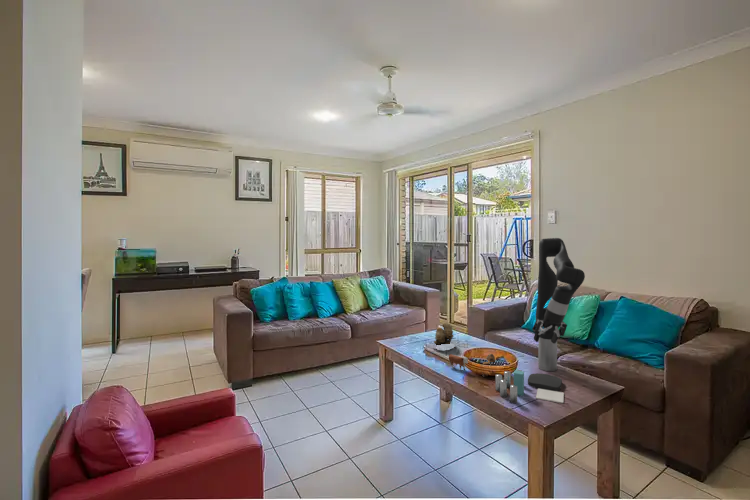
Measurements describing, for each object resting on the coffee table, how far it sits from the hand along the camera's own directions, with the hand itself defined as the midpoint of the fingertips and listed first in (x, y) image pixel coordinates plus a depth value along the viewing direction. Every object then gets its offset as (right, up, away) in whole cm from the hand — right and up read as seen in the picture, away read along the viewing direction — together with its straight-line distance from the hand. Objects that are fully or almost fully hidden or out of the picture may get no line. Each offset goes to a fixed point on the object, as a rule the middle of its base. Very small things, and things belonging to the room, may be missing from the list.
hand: (544, 341), depth 166 cm
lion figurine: (-15, -25, +33) cm, 44 cm away
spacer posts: (-13, -26, +9) cm, 30 cm away
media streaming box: (+8, -26, +17) cm, 32 cm away
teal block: (-9, -26, +7) cm, 28 cm away
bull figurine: (-30, -25, +38) cm, 54 cm away
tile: (+4, -26, +3) cm, 26 cm away
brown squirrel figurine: (-30, -23, +77) cm, 86 cm away
